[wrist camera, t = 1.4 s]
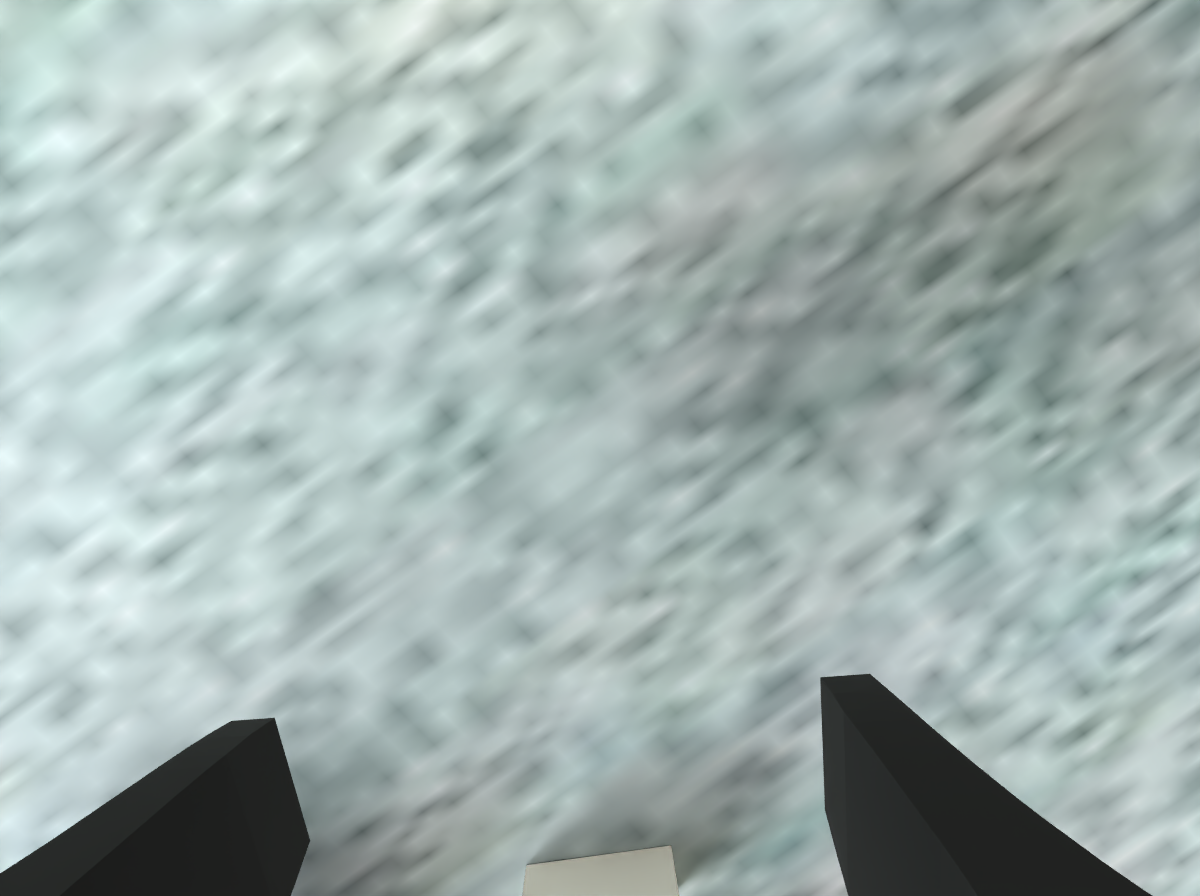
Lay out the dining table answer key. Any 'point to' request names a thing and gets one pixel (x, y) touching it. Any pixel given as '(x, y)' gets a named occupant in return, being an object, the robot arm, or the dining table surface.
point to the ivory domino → (606, 875)
